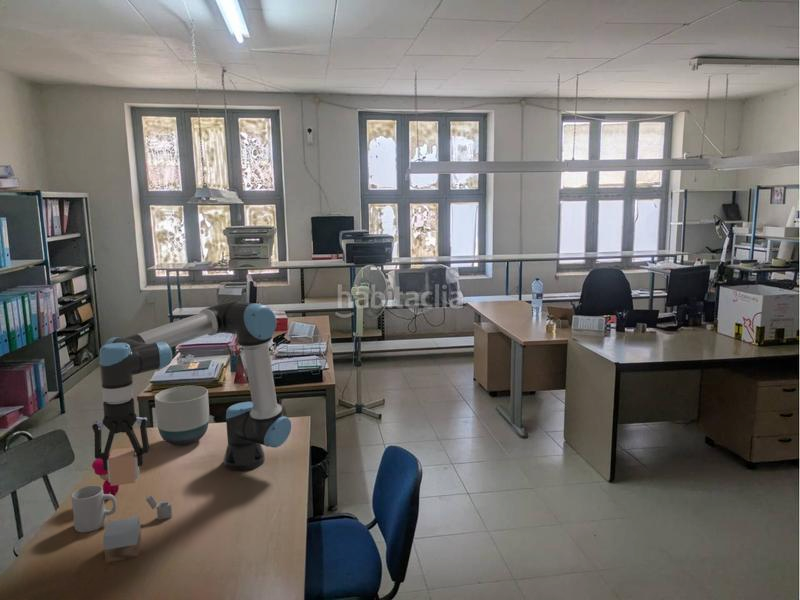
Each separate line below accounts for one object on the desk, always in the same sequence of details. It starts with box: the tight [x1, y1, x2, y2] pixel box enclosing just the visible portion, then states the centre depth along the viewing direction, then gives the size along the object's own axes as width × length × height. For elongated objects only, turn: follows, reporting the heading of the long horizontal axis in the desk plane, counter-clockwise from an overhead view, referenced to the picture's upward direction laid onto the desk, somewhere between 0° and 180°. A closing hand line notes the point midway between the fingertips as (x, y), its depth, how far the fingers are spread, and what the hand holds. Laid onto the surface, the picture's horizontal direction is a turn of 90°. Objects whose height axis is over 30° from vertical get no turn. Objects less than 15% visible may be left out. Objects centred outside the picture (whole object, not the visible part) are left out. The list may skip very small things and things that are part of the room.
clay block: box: [109, 446, 137, 486], centre depth 152 cm, size 6×6×8 cm
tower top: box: [102, 516, 141, 550], centre depth 155 cm, size 8×8×4 cm
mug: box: [71, 484, 118, 534], centre depth 168 cm, size 12×8×11 cm
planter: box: [154, 385, 210, 447], centre depth 225 cm, size 20×20×21 cm
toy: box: [91, 453, 120, 496], centre depth 183 cm, size 8×8×15 cm
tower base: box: [104, 529, 142, 563], centre depth 155 cm, size 8×8×4 cm
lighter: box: [145, 494, 173, 520], centre depth 171 cm, size 7×2×8 cm, turn 106°
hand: (124, 478), depth 153 cm, fingers closed on clay block, 6 cm apart
